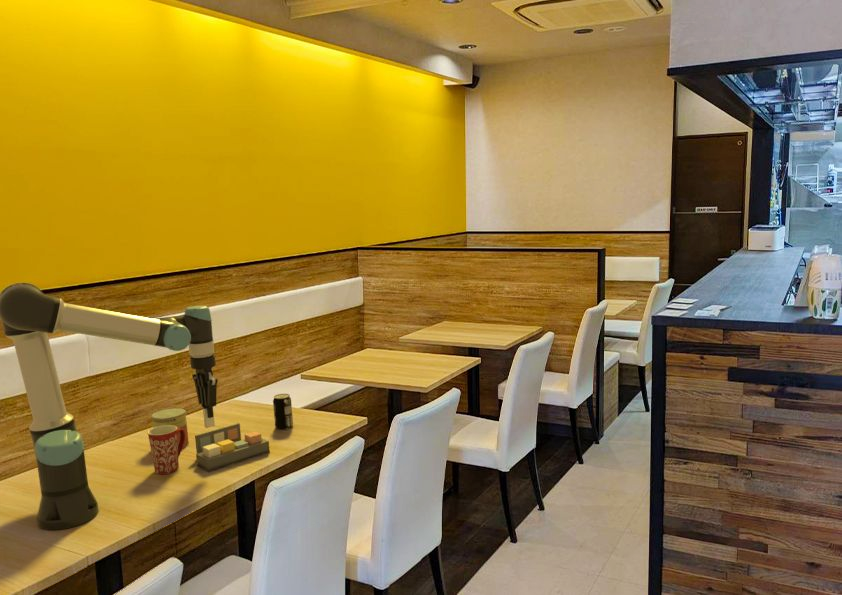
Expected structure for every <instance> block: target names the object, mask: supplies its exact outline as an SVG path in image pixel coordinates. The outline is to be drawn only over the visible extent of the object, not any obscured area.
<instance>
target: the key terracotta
mask: <svg viewBox="0 0 842 595" xmlns="http://www.w3.org/2000/svg"><path fill="white" fill-rule="evenodd" d="M262 438H263V437H262V433H260V432H258V431H255V430H254V431H252V432H251V431H250V432H247V433H244V440H245V441H246V442H248V444H250V445H252V444H255V443H258V442H261V441H262Z"/></svg>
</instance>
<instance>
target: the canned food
mask: <svg viewBox="0 0 842 595" xmlns="http://www.w3.org/2000/svg"><path fill="white" fill-rule="evenodd" d="M186 413H187V412H186V409H184V408H179V407H178V408H177V407H174V408H165V409H160V410H158V411H155V412H153V413H152V414H151V419H152V428H155V427H158V426H164V425H173V426H176V427H177V428H180V429H183V430H184V432H185V441H184V445H183V448H182V450H183V449H185V448H186V447H188V446H189V444H190V441H189V432H188V423H187V414H186ZM179 442H180V432H178V433H177V443H178V445H179Z"/></svg>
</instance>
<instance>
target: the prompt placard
mask: <svg viewBox="0 0 842 595" xmlns="http://www.w3.org/2000/svg"><path fill="white" fill-rule="evenodd" d="M194 439H195V449H196V454H198V453H201V452H203V447H204V446H207V445H211V444H216V445H217V442H221V441H224V440H227V439H229V440H231V441H233V442H237V441H240V440H242V435H241V425H240V423H239V422H238V423H234V424H230V425H227V426H223V427H219V428H216V429H212V430H209V431H206V432H202V433H199V434H195V435H194Z"/></svg>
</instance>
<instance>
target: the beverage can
mask: <svg viewBox="0 0 842 595" xmlns="http://www.w3.org/2000/svg"><path fill="white" fill-rule="evenodd" d="M272 403H273V405H272V406H273V416H274V417H273V418H274V426H275V428H276V429H277V430H288V429H291V428H292V427H293V425H294V417H293V407H292V406H293V405H292V398H291V397H290V394H288V393H280V394H279V393H278V394H275V395H274V396H273V400H272Z"/></svg>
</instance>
